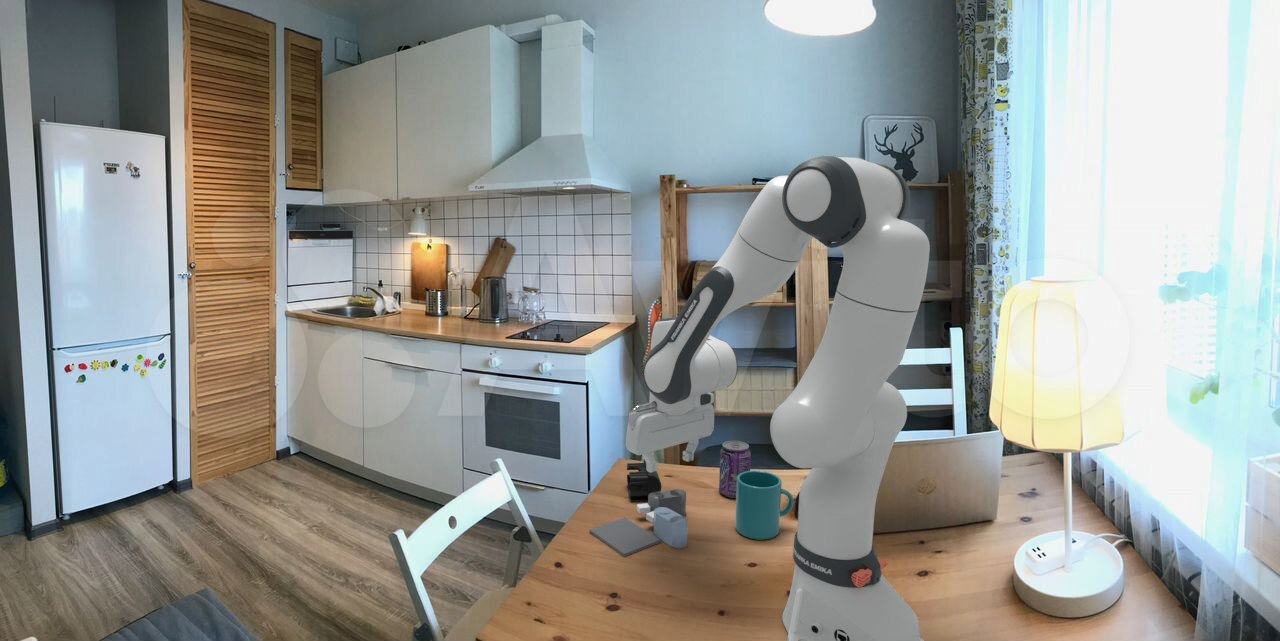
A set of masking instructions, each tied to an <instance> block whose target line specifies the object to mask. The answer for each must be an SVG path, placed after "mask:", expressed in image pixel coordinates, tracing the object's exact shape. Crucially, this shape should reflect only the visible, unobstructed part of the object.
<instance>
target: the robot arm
mask: <svg viewBox="0 0 1280 641" xmlns="http://www.w3.org/2000/svg"><path fill="white" fill-rule="evenodd" d="M910 204H911V191H910V188H909V185H908V183H907V181H906V179H905V178H904V176H902V175H901V173H899V172H898V171H897V170H896V169H894V168H892V167H890V166H888V165H885V164H881V163H874V162H872V161H867V160H865V159H862V158H858V157H851V156H850V157H848V156H847V157H845V156H843V157H842V156H832V155H822V156H817V157H813V158H811V159H807V160H806V161H803V162H801V163H800V164H799V165H797V166H795V167H794V168H793V170H792V171H791V172H790V173H789V175H778V176H776V177H773V178H772V179H770V180H769V181H768V182H767V183H766V184H765V185H764V186H763V188H762V189H761V191H760V192H759V193H758V194H757V197H756V198H755V199H754V200H753V203H751V206H749V209H748V210H747V211H746V214H745V216H744V217H743V219H742V221H741V223H740V225H739V227H738V229H737V231H736V233H735V235H734V236H733V238H732V240H731V242H729V245H728V247H727V248H726V250H725V251H724V252H723V253H722V255H721V256H720V257H719V259H718V260H717V262H716V263H715V264H714V266H712V268H711V269H709V270H708V271H707V272H706V274H705V275H704V276H703V277H702V278H701V279H700V280H699V282H698V284H697V285H696V286H695V288H694V289H693V291H692V292H691V294H690V296H689V297H688V298H687V301H686V302H685V304H684V305H683V307H682V308H681V310H680V312H679V313H678V315H677V316H673V317H672V316H670V317H663V318H660V319H658V320H657V321H655V323H654V326H653V329H652V333H651V340H650V351H649V353H648V355H647V356H646V359H645V361H644V364H643V372H642V373H643V374H642V375H643V380H644V384H645V386H646V388H647V389H648V391H649V400H648V402H646V403H644V404H638V405H635V406H634V408H633V409H632V410H631V411H630V412H629V414H628V422H627V428H626V429H627V430H626V437H625V448H626V449H627V450H628V451H629V452H630V453H632V454H634V455H637V456H641V455H642V458H643V460H644V459H645V461H646V470H647V471H648V472H650V473H652V472H655V471H657V472H658V468H659V467H658V466H659V463H658V462H657V461H654V459H653V457H654V456H655V452H656V451H659V450H660V451H661V450H663V449H667V448H671V447H675V446H678V445H681V444H685V443H687V445H686V448H685V450H683V451H682V461H685V462H687V463H688V462H690V461H694V459H695V458H694V457H695V454H694V453H695V452H696V450H697V449H698V446H699V441H700V440H701V439H703V438H706V437H710V436H711V435H712V434H713V431H714V428H715V407H714V406H713V403H714V401H715V394H714V392H716V391H720V390H723V389H726V388H728V387H730V386H731V385H732V384H733V383H734V382H735V380H736V378H737V375H738V370H739V369H738V368H739V365H738V364H739V362H738V356H737V355H736V352H735V350H734V349H733V347H732V346H731V345H730V344H729V343H728V342H726V341H725V340H724V339H718V338H716V337H715V336H713V335H712V333H713V331H714V330H715V329H716V327H717V325H718V324H719V323H720V322H721V321H722V320H724V318H726V316H728V315H729V314H731V313H733V312H734V311H736V310H738V309H740V308H742V307H744V306H746V305H748V304H751V303H754V302H756V301H759V300H762V299H764V298H767V297H769V296H771V295H773V294H775V293H777V292H778V291H779V290H780V289H781V288H782V287H783V286H784V285H785V284H786V283H787V281H788V280H789V279H790V278H791V276H792V275H793V274H794V272H795V271H796V268H797V266H798V265H799V263H800V261H801V259H802V258H803V256H804V254H805V252H806V250H807V248H808V247H809V245H810V243H811V241H812V240H813V239H816V240H817V241H818V242H819V243H821V244H822V245H824V246H825V247H826V248H829V249H834V248H835V249H836V248H838V247H839V248H840V249H841V251H842V256H843V265H842V268H841V269H842V270H841V274H840V276H839V280H838V284H837V286H836V291H835V295H834V297H833V302H832V305H831V308H830V311H829V316H828V319H827V322H826V325H825V329H824V333H823V336H822V338H821V341H820V343H819V344H818V345H819V346H818V347H817V349H816V351H815V354H814V355H813V358H812V359H811V361H810V363H809V365H807V368H806V369H805V371H804V373H803V375H802V377H801V378H800V380H799V382H798V383H797V384H796V386H795V387H794V389H793V391H792V392H791V393H790V394H789V395H788V397H787V398H786V399H785V400H784V401H783V402H782V403H780V405H779V406H778V407H776V409H775V410H774V412H773V414H772V417H771V419H770V424H769V425H770V426H769V429H770V437H771V441H772V444H773V446H774V448H775V450H776V451H777V453H778V455H779V456H780V457H781V458H782V459H783V460H784V461H785V462H786V463H788V464H789V465H791V466H793V467H795V468H798V469H811V470H810V471H809V473H808V474H807V476H806V477H805V478H804V480H803V482H802V484H801V486H800V489H799V494H798V512H797V531H796V532H795V534H794V539H793V550H792V559H793V561H794V568H793V577H792V580H791V587H790V591H789V594H788V595H789V596H788V599H787V602H786V605H785V608H784V609H783V612H782V624H783V625H784V628H785V630H786V632H787V639H786V641H925V640H924V639H923V638H922V637H921V632H920V624H919V619H918V616H917V615H916V612H915V611H914V610H913V609H912V608H911V606H910V605H909V604H908V603H907V602H906V601H905V600H904V598H902V596H901V595H900V594H899V593H898V592H897V591H896V589H895V587H893V586H892V585H891V583H890V582H889V581H888V579H887V578H885V576H884V575H883V574H882V572H883V571H882V569H885V568H886V567H887V566H888V560H889V558H888V557H885V558H884V559H881V560H880V561H879V558H878V556H877V553H876V549H875V546H874V544H873V537H874V527H875V526H874V524H875V523H874V522H875V513H876V512H875V510H876V504H877V497H878V493H879V489H880V486H881V483H882V479H883V476H884V473H885V470H886V467H887V464H888V460H889V457H890V454H891V451H892V449H893V445H894V444H895V441H896V439H897V437H898V436H899V434H900V432H901V431H902V430H903V428H904V426H905V425H906V422H907V418H908V408H907V404H906V400H905V398H904V396H903V395H902V393H901V392H900V391H899V390H898V389H897V387H895V386H894V385H893V384H891V383H889V382H887V380H888V378H889V377H890V376H891V375H892V374H893V373H894V371H895V370H896V369H897V368H898V367H899V366H900V364H901V362H902V361H903V358H904V355H905V352H906V349H907V346H908V343H909V339H910V336H911V334H912V331H913V327H914V324H915V321H916V317H917V314H918V311H919V309H920V308H919V307H920V304H921V301H922V299H923V293H924V290H925V285H926V280H927V275H928V269H929V261H930V260H929V259H930V251H931V250H930V249H931V248H930V247H931V245H930V241H929V240H930V239H929V238H928V236H927V234H926V233H925V232H924V231H923V230H922V229H921V228H920V227H918V226H916V225H915V224H913V223H911V222H909V221H906V220H904V219H905V217H906V215H907V214H908V212H909V208H910V206H911V205H910ZM699 439H700V440H699Z"/></svg>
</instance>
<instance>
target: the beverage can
mask: <svg viewBox="0 0 1280 641" xmlns="http://www.w3.org/2000/svg"><path fill="white" fill-rule="evenodd" d="M721 445H722V448H721V449H720V451H719V455H720V456H719V478H718V479H719V482H718V484H719V485H718V489H719V490H718V491H719V493H720V494H721V495H724V496H725V497H727V498H731V499H736V485H737V476H738V475H739V474H740V473H742V472H746V471H751V458H752V457H751V456H752V454H751V450H750V445H749V444H748V443H747V442H744V441H741V440H740V441H739V440H728V441H725V442H723V443H722V444H721Z"/></svg>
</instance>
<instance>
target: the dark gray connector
mask: <svg viewBox="0 0 1280 641" xmlns="http://www.w3.org/2000/svg"><path fill="white" fill-rule="evenodd" d="M658 507H666V508H669V509H671V510H672V511H674V512H676V513H678V514H680V515H681V516H683V517H685V518H686V511H687V510H686V509H687V492H686V491H685V490H684V489H669V490H661V491H660V492H653V493H650V494H649V495H648V502H643V503H638V504H636V511H637V512H638V514H640V515H641V514H647V513H650V512H652V511H654V509H656V508H658Z"/></svg>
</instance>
